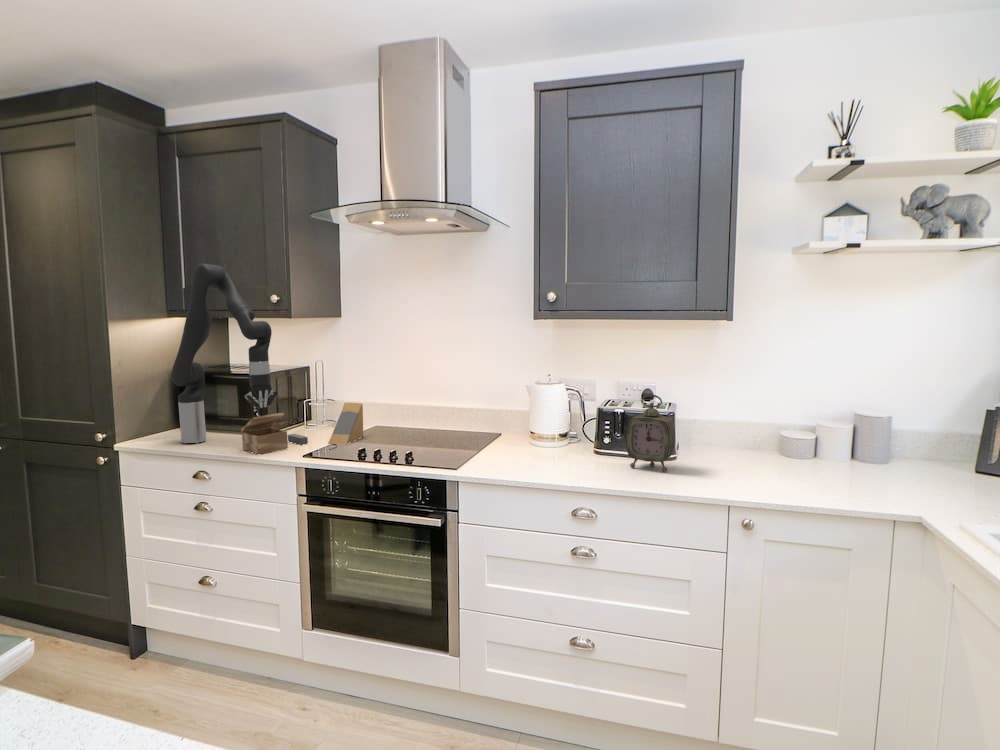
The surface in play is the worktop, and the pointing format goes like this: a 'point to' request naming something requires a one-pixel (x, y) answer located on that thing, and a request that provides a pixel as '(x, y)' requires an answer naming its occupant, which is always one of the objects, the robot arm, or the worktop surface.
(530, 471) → the worktop surface
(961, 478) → the worktop surface
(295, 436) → the gray rectangular block
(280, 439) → the carton
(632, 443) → the tabletop clock
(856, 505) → the worktop surface
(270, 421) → the lid
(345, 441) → the sandwich container
